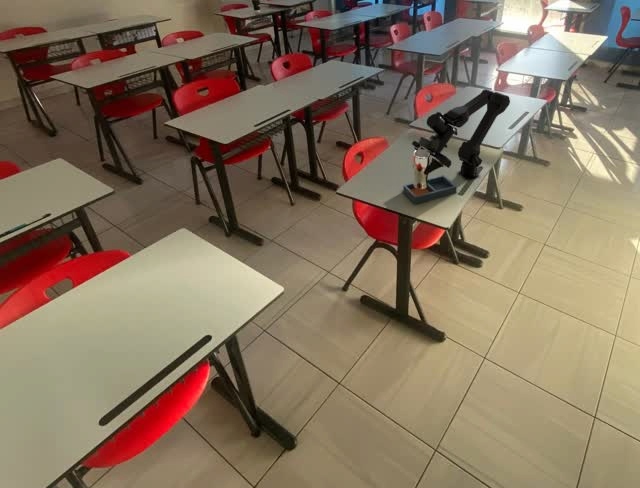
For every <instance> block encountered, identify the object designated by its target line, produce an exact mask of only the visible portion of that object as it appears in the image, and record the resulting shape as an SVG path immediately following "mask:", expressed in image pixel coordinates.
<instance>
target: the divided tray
mask: <svg viewBox="0 0 640 488" xmlns="http://www.w3.org/2000/svg"><path fill="white" fill-rule="evenodd" d="M413 183H414V182H411V183H407V184H403V186H402V187H403V188H402V191H403V193H404V194H405V195H406V196H407V197H408V198H409V200H410V201H411V202H412V203H413V204H414V205H416V204H421V203H423V202H427V201H431V200H435V199H439V198H442V197H446V196H450V195H453V194H456V193H457V185H455V184H454V183H453V182H452V181H451V180H450V179H449V178H448V177H446V176H445V174H442V175H439V176H435V177H430V178H428V187H427V188H426V189H423V190H419V189H416V188H414V186H413Z"/></svg>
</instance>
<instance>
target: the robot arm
mask: <svg viewBox="0 0 640 488" xmlns="http://www.w3.org/2000/svg"><path fill="white" fill-rule="evenodd" d="M510 104H511V99H510V96H508V95H506V94H504V93H501V92H498V91H493V90H489V89H483V90H482V91H481V92H480V93H479V94H477V95H476V96H474V97H473V98H471V99H470V100H468V101H467V102H466V103H465V104H463V105H460V106H455V107H453V108H451V109H449V110H448V111H446V112H445V113H442V112H441V111H436V112H435V113H432V114H431V115H430V116H428V117H427V119H426V125H427V126H428V127H429V128H430V130H431V131H433V132H434V133H435V135H431V136H430V137H428V136H423V135H420V137H419V140H418V139H414V140H413V141H412V142H411V145H412V146H414V150H415V151H417V150H427V151H429V152H430V157H431V163H430V165H429V166H428V168H427V169H426V171H425V173H424V175H427V174H428V175H430V174H431V173H432V172H434V171H436V170H438V169H440V168H444V167H446V168H448V169H450V167H451V165H452V160H451V159H450V158H448V156H446V155H444V153H442V151H443V150H444V149H447V148H448V145H447V144H448V143H449V141H450V140H451V139H452V137H453V136H454V135H455V136H458V128H459V129H460V128H462V127H463V126H465V124H466V123H467V122H468V121H469V119H470V117H471V116H472V115H474V114H475V113H477V112H478V111H479V110H481V108H483V107H484V106H486V111H485V113H484V115H483V116H482V118H481V120H480V121H479V123H478V125H477V126H476V128H475V130H474V132H473V133H472V135H471V136H470V138H469V140H467V141H465V140H464V141H462V143H461V145H460V147H459V148H458V151H457V156H458V160H459V161H461V166H460V170H459V171H458V174H459V175H461V176H462V177H463V178H464V179H466V180H470V179H474V178H477V177H479V173H478V168H479V167H480V166H481V165H482V162H483V159H482V158H481V157H480V154H481V144H483V141H484V140H485V138H486V137H487V134H488V133H489V131H490V130H491V128H492V126H493V124H494V123H495V121H496V119H497V118H498V116H500V115H501V114H503V113H505V111H506V110H507V109H508V107H509V106H510Z"/></svg>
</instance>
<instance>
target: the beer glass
mask: <svg viewBox="0 0 640 488" xmlns="http://www.w3.org/2000/svg"><path fill="white" fill-rule="evenodd" d="M431 160H432V156H431V155H430V152H429V151H427V150H417V151H416V150H415V151H413V157H412V171H413V176H414V180H413V182H412V183H413V186H414V188H416V189H419V190H423V189H426V188H427V187H428V179H429V174H427V175H424V173H425V171H426V169H427V168H428V166H429V165H430V163H431Z"/></svg>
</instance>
